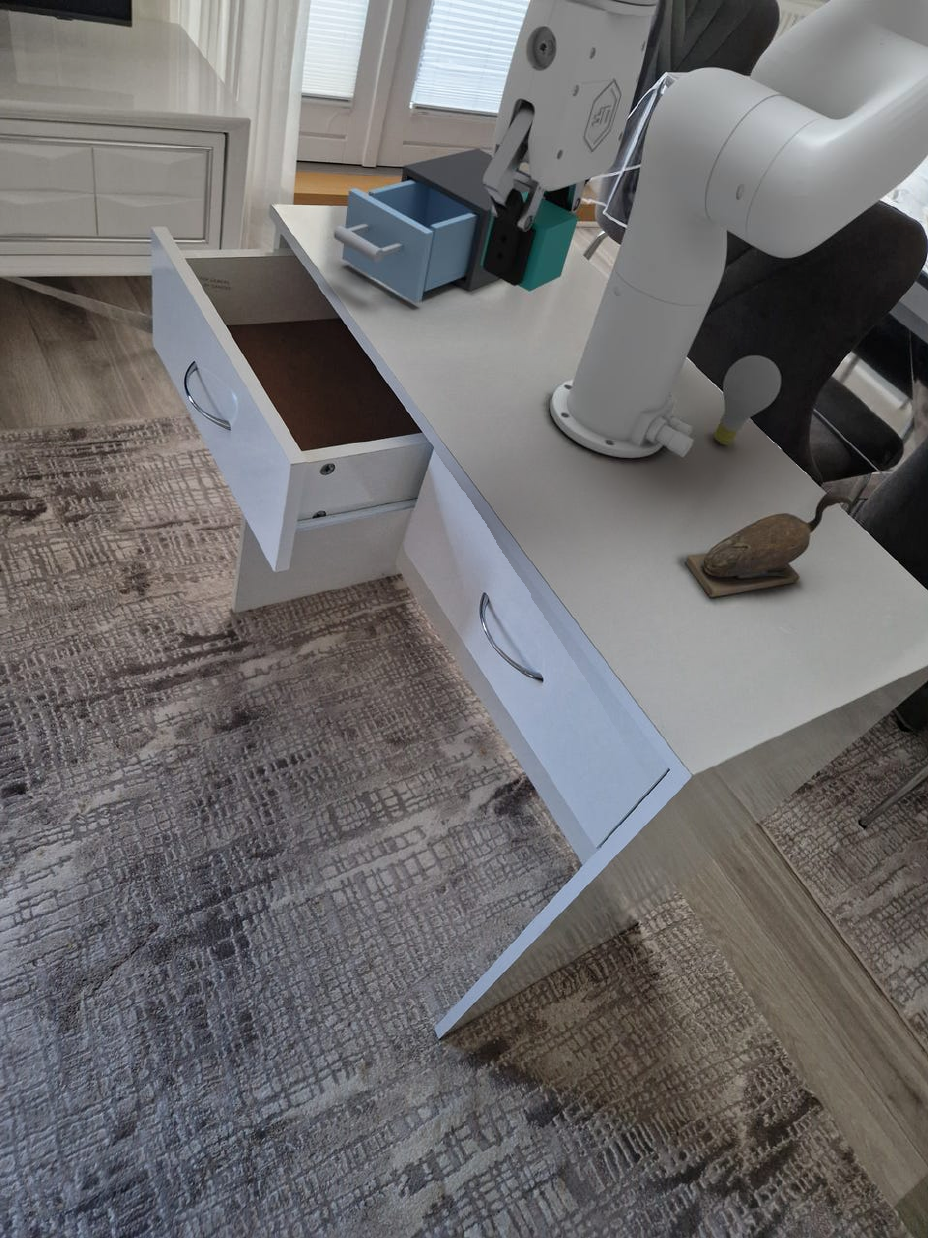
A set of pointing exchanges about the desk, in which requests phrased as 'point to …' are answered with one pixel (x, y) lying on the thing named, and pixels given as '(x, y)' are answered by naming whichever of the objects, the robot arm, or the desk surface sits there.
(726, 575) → the figurine
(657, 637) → the desk surface
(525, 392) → the desk surface
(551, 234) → the teal cube
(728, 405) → the light bulb
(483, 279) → the drawer cabinet
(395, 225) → the blue drawer
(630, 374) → the robot arm
